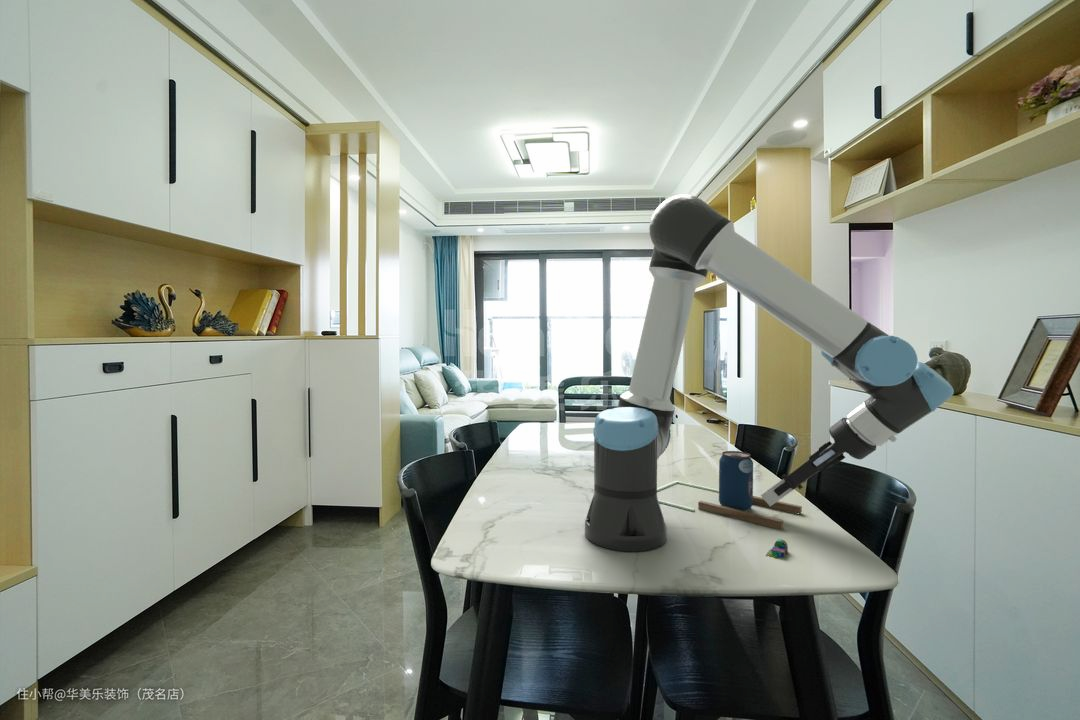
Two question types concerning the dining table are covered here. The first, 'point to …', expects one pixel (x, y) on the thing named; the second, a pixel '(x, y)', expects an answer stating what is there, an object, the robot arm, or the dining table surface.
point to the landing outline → (683, 484)
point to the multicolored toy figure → (778, 549)
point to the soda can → (736, 480)
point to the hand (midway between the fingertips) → (766, 500)
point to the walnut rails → (751, 516)
